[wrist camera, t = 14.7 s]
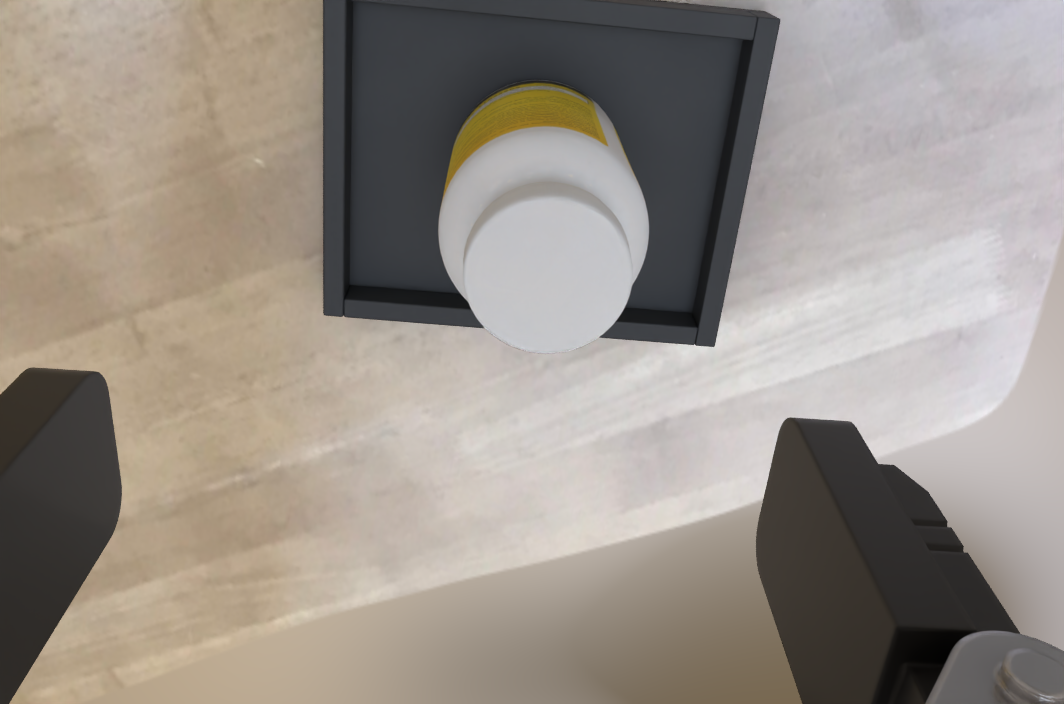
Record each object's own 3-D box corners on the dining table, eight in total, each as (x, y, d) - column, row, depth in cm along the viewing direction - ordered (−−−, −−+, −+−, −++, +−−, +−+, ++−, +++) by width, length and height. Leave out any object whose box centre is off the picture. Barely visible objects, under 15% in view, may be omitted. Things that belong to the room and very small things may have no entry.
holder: (766, 11, 35) (780, 18, 33) (705, 325, 40) (714, 347, 38) (333, -33, 34) (322, -28, 32) (332, 295, 39) (322, 316, 37)
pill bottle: (424, 115, 35) (387, 214, 25) (587, 48, 34) (618, 121, 24) (492, 267, 38) (484, 413, 28) (645, 208, 37) (696, 336, 27)
